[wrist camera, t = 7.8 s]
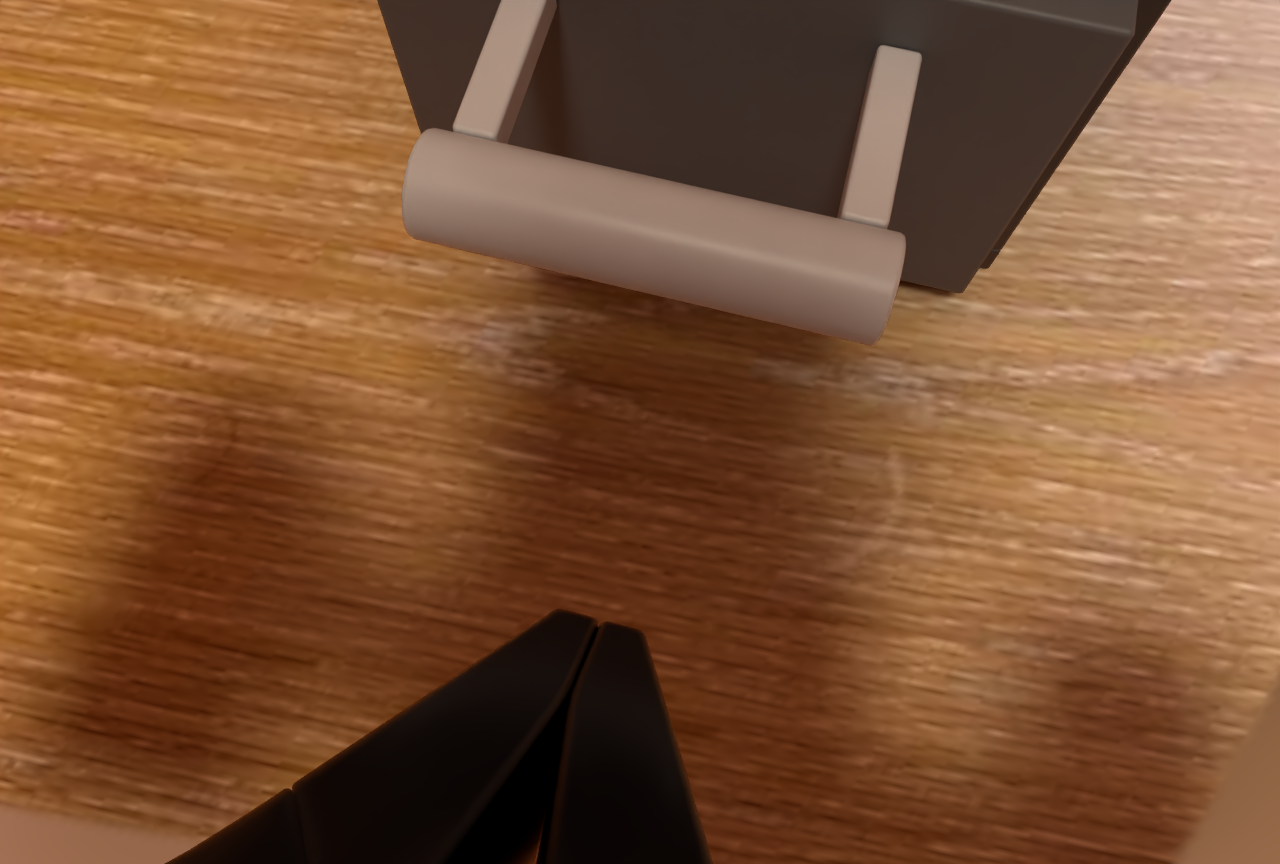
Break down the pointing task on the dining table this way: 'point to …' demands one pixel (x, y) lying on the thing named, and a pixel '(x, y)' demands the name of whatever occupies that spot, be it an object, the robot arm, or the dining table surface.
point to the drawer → (744, 139)
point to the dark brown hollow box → (1086, 114)
